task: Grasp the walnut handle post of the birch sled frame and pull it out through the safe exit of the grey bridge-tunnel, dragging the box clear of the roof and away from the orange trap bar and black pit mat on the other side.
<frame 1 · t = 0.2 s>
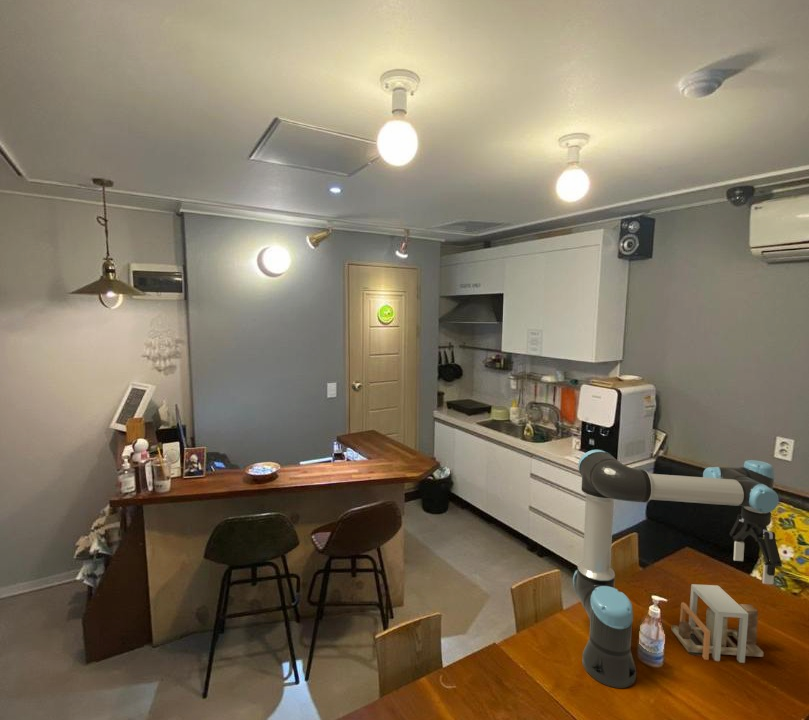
hand: (752, 571, 143), 27 cm above the table, fingers open, 13 cm apart
sled: (716, 624, 146), point 7 cm above the table, slide at 0.0 cm
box: (715, 645, 146), resting in sled
tunnel: (715, 644, 146), on the table
pit mat: (690, 643, 147), on the table
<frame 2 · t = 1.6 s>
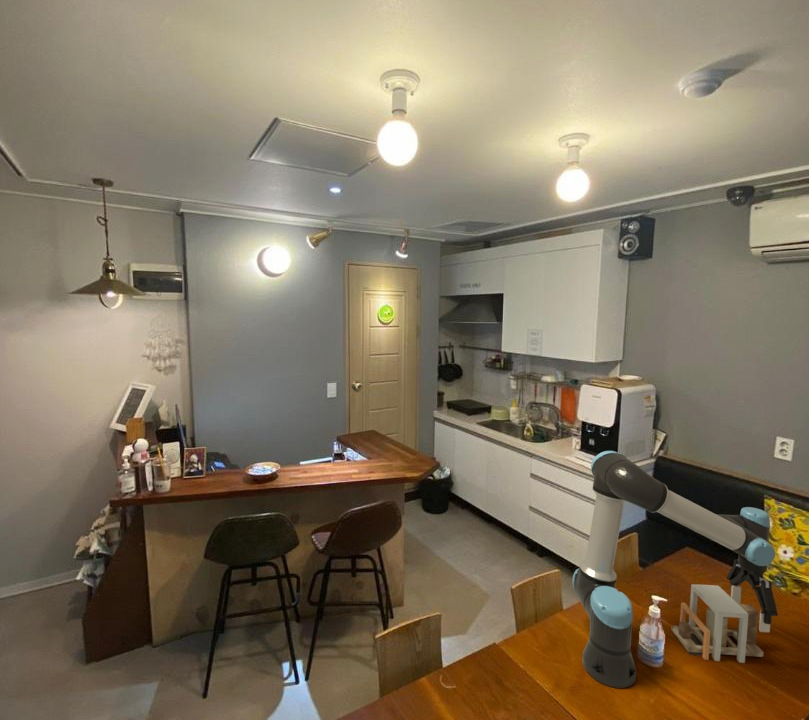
hand: (749, 617, 145), 10 cm above the table, fingers open, 13 cm apart
nothing on the table moved.
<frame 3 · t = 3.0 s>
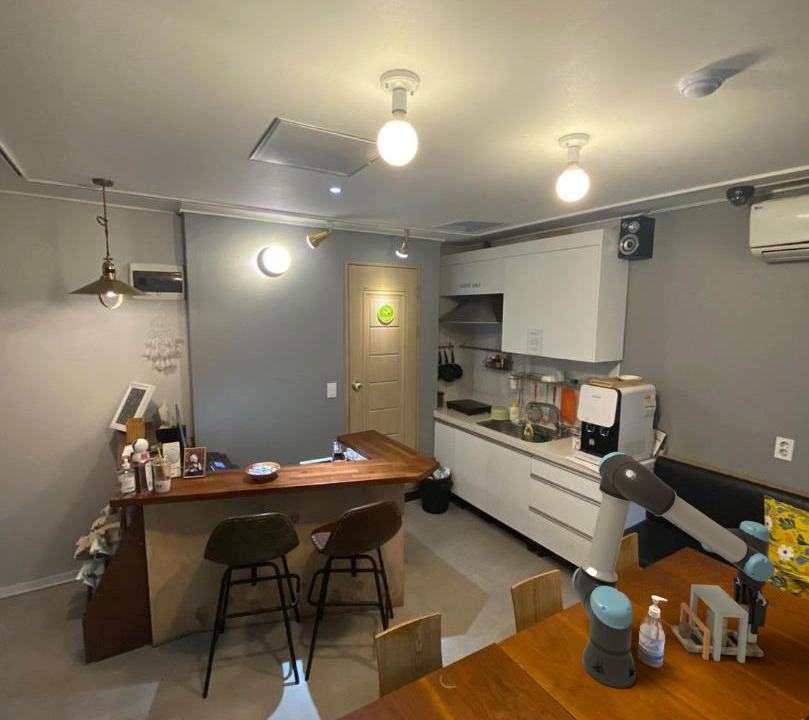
hand: (746, 636, 145), 4 cm above the table, fingers closed on sled, 3 cm apart
sled: (716, 624, 146), point 7 cm above the table, slide at 0.0 cm, touching gripper
everything else where it was.
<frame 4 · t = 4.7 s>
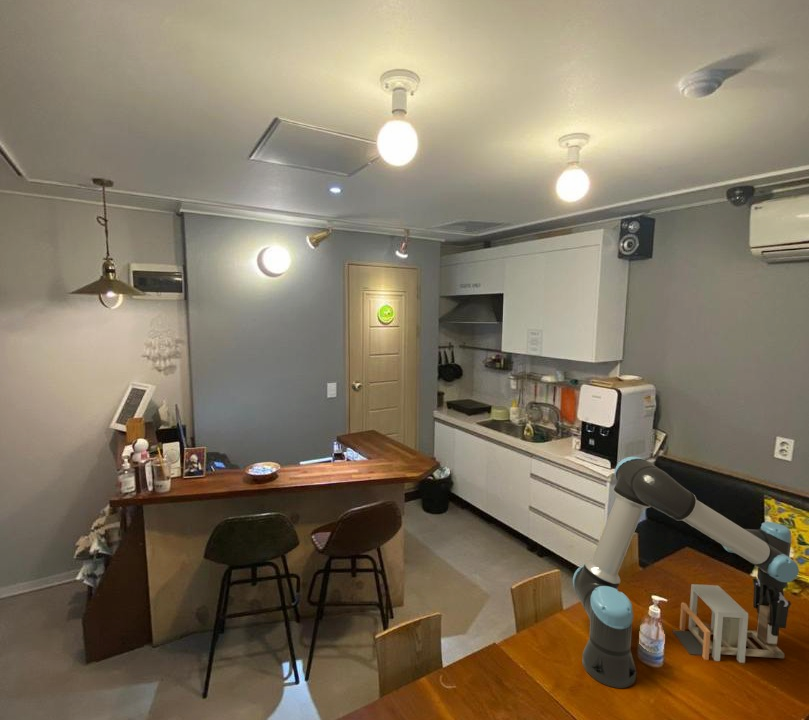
hand: (766, 638, 145), 4 cm above the table, fingers closed on sled, 3 cm apart
sled: (736, 625, 145), point 7 cm above the table, slide at 6.4 cm, touching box, gripper
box: (730, 645, 146), resting in sled
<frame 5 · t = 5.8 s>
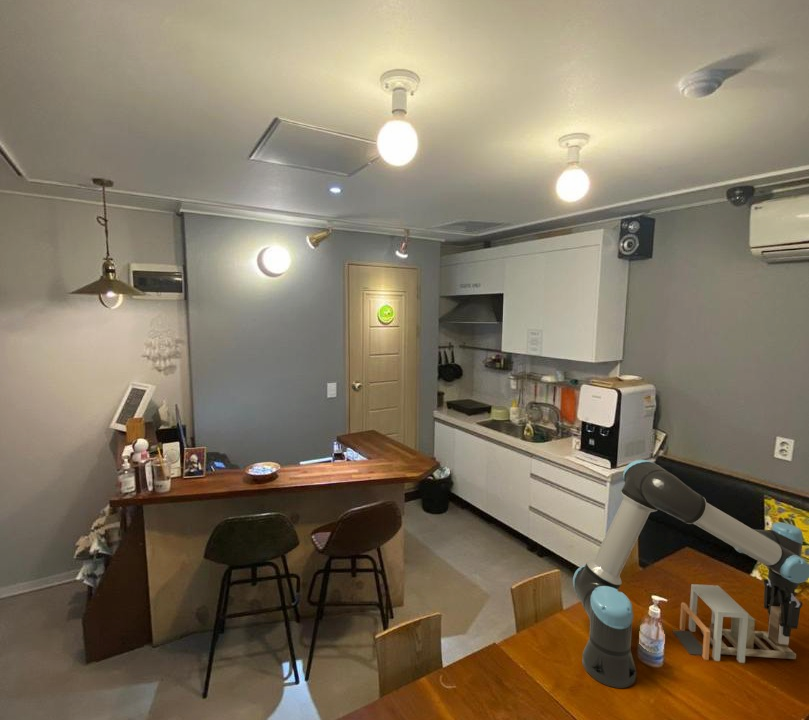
hand: (778, 638, 144), 4 cm above the table, fingers closed on sled, 3 cm apart
sled: (747, 626, 145), point 7 cm above the table, slide at 9.9 cm, touching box, gripper
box: (741, 646, 146), resting in sled
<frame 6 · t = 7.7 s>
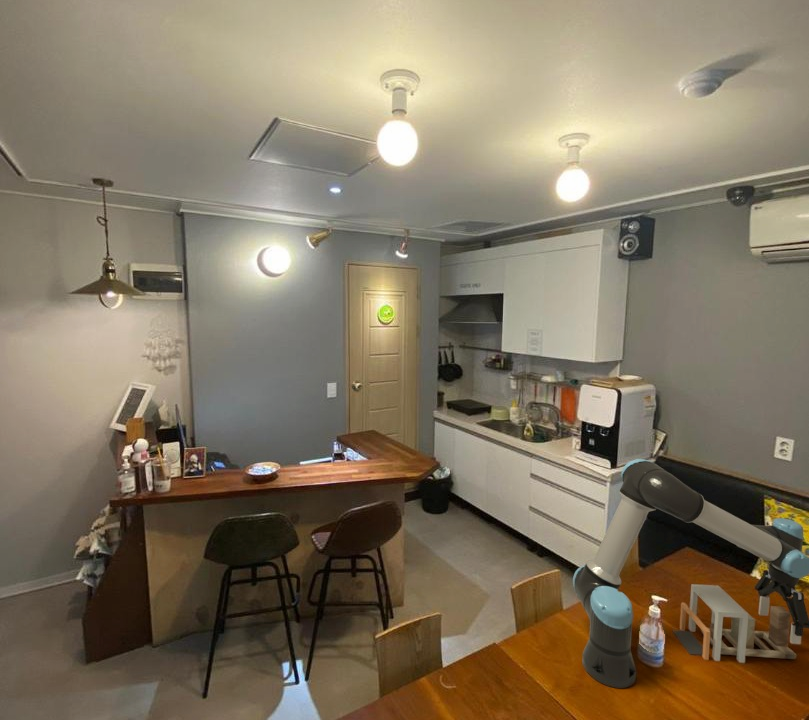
hand: (778, 628, 144), 7 cm above the table, fingers open, 13 cm apart
sled: (747, 626, 145), point 7 cm above the table, slide at 9.9 cm
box: (741, 646, 146), resting in sled
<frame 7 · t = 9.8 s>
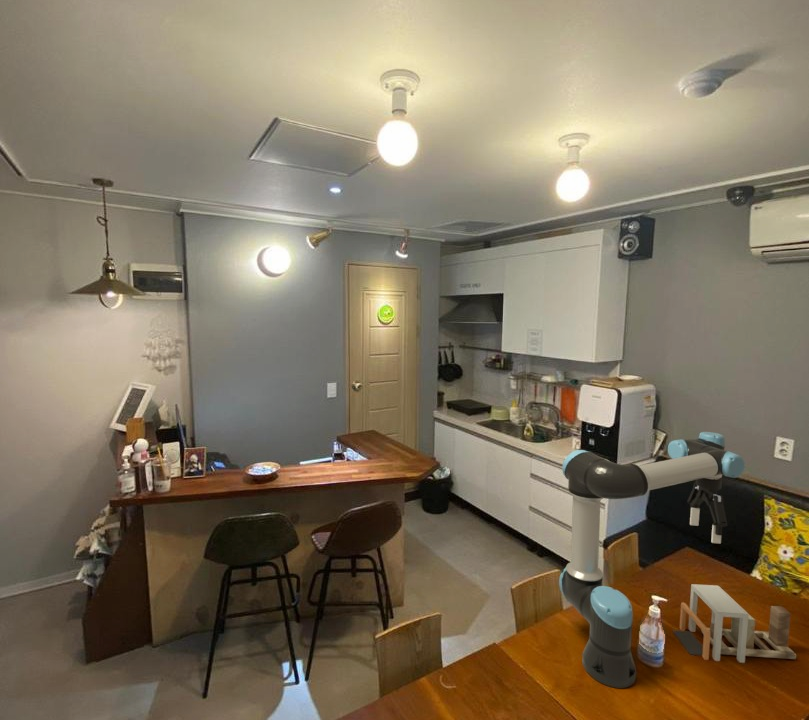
hand: (704, 533, 156), 33 cm above the table, fingers open, 13 cm apart
nothing on the table moved.
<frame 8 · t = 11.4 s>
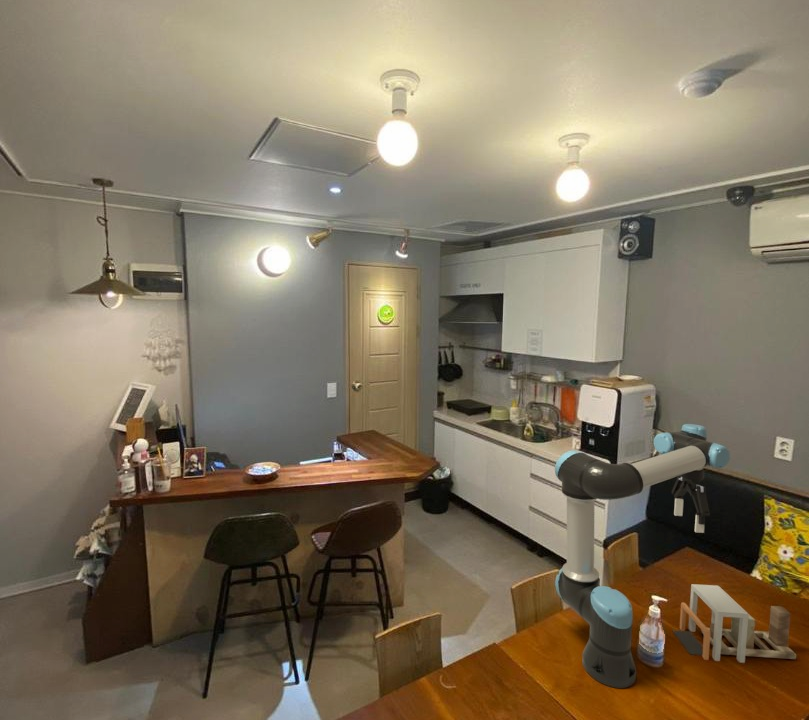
hand: (688, 523, 160), 35 cm above the table, fingers open, 13 cm apart
nothing on the table moved.
at the end: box inside the target area (1.8 cm from its centre), resting in sled; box tilted 0°; sled slide at 9.9 cm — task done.
